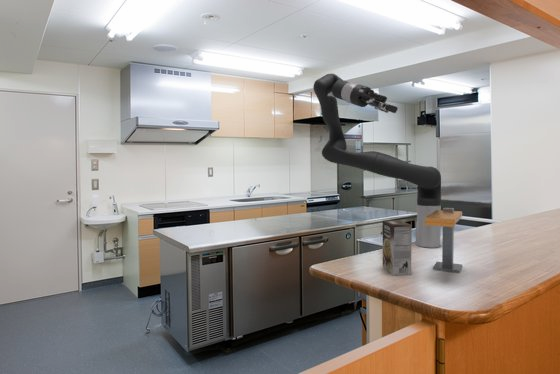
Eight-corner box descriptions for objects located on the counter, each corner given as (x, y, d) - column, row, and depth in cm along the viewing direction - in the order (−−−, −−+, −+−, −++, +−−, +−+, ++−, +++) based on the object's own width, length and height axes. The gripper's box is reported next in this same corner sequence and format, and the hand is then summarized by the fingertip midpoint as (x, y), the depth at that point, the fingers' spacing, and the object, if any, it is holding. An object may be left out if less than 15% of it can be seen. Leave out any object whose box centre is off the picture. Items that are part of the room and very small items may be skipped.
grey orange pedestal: (424, 281, 112) (424, 214, 111) (436, 263, 131) (437, 206, 130) (453, 285, 108) (454, 216, 107) (462, 266, 127) (463, 207, 125)
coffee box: (381, 267, 128) (381, 220, 127) (400, 266, 128) (400, 219, 127) (392, 275, 119) (392, 224, 118) (412, 274, 119) (412, 224, 118)
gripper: (360, 110, 147) (394, 122, 136) (341, 95, 137) (376, 106, 125) (370, 93, 146) (405, 104, 135) (351, 76, 136) (387, 86, 125)
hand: (391, 105), depth 130 cm, fingers open, 8 cm apart
